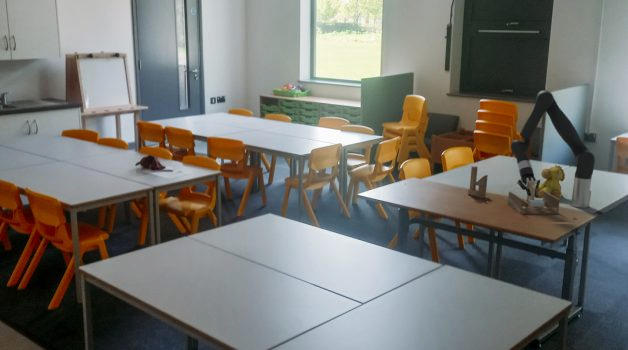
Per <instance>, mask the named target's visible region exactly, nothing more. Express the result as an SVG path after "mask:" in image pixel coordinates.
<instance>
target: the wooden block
mask: <svg viewBox="0 0 628 350" xmlns="http://www.w3.org/2000/svg"><path fill="white" fill-rule="evenodd" d="M478 169H479V168H478V166H477V165H472V166H471V169H470V179H469V180H470V181H469V188H468V189H467V190H468V191H467V195H469V196H472V197H476V198H480V199H485V198H487V187H488V174H486V175H485V174H484V175H483V176H482V177H480V179H478V181H477V176H478ZM477 186H478V188H477Z"/></svg>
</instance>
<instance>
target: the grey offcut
mask: <svg viewBox="0 0 628 350" xmlns="http://www.w3.org/2000/svg"><path fill="white" fill-rule="evenodd" d="M544 202H545V201H543V199H534V200H529V201H528V205H529V206H530V207H544Z"/></svg>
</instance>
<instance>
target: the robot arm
mask: <svg viewBox="0 0 628 350" xmlns="http://www.w3.org/2000/svg"><path fill="white" fill-rule="evenodd" d="M545 112H546V114H547V115H548V117H549V118H550V119H549V120H550V122H551V123H552V125H553V128H554V129H555V130H556V133H558V135H559V137H560V138H561V139H562V141H564V143H565V144H566V145H567V146H569V149H570V150H571V151H572V154H573V155H574V157H575V159H576V161H577V162H576V169H575V172H574V178H573V186H572V187H573V188H572V195H571V202H570V204H571V206H572V207H575V208H581V209H582V208H583V209H584V208H590V204H591V196H592V191H591V185H592V184H591V183H592V178H593V174H594V169H595V168H594V167H595V160H596V159H595V156H594V154H593V152H591V150H589V148H587V146H586V145H585V144H584V142H583V141H582V140H581V137H580V135H579V133H578V131H577V130H576V127H575V126H574V125H573V123H572V122H571V120H570V118H569V117H568V116H567V115H566V113H564V111H563V110H562V109H561V108H560V107H559V105H558V104H557V101H556V99H555V97H554V95H553V93H552V92H551V91H550V90H546V89H545V90H540V91H539V92H538V93H537V95H536V100H535V104H534V107H533V109H532V112H531V113H530V115H529V116H528V118H527V120H526V121H525V122H524V124H523V126H522V128H521V130H520V132H519V136H520V137H521V138H522V140H519V139H514V140H512V141H511V143H510V150H511V153H512V154H513V155H514V158H515V159H516V164H517V167H518V171H519V176H520V179H518V181H517V182H516V184H518V186H519V187H520V188H521V190H523V191H525V192H526V196H527V195H528V196H530V195H531V193H530V189H529V183H528V182H529V181H534V182H536V185H535V186H536V187H535V194H534V197H536V194H537V193H536V190H537V189H538V188H539V184H541V180H540V179H537V178H536V177H535V174H534V170H533V165H532V162H531V161H530V157H529V154H528V153H527V152H528V151H529V150H530V149H529V148H530V145H531V142H532V137H533V135H534V133H535V131H536V129H537V127H538V126H539V123H540V121H541V120H542V118H543V116H544V114H545Z"/></svg>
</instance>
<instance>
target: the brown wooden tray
mask: <svg viewBox="0 0 628 350" xmlns="http://www.w3.org/2000/svg"><path fill="white" fill-rule="evenodd" d="M507 197H508V198H507V200H508V201H507V205H508V206H509V208H512V209H513V210H515V211H516V212H517V213H518V214H535V215H536V214H539V215H540V214H545V215H546V214H549V215H551V214H552V215H554V214H559V211H560V202H561V201H560V200H561V198H560V199H558V198H556V197H554V196H553V195H551V194H549V193H547V192H544V194H543V198H542V200H543V201H545V202H544V208H528V202H526V201H527V200H524V198H522V197H520V196H519V195H518V194H516V193H514V192H513V191H509V190H508V196H507Z"/></svg>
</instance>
